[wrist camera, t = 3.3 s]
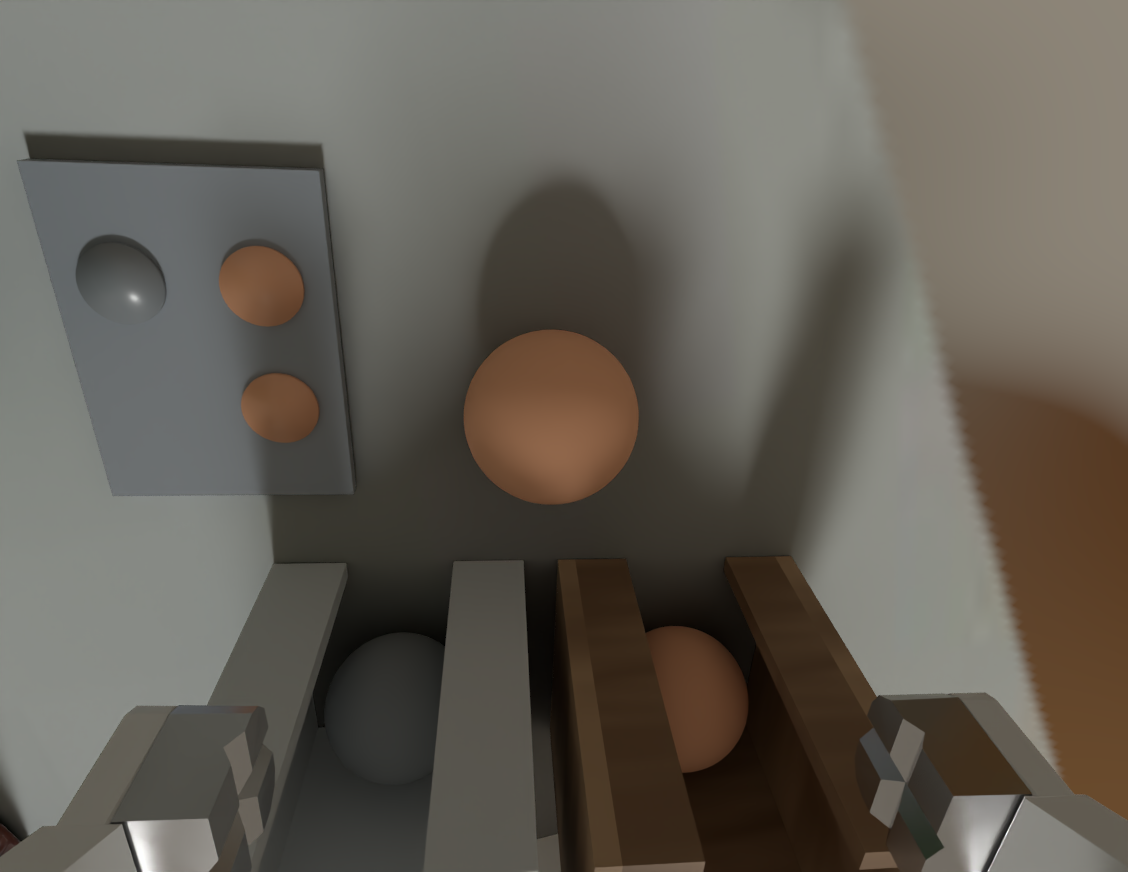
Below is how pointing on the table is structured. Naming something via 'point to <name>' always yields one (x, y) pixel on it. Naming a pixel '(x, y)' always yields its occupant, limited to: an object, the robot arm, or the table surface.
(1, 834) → the supplement bottle
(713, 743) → the tube ball terracotta
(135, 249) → the card
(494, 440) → the loose ball
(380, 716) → the tube ball charcoal
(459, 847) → the grey tube
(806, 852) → the walnut tube
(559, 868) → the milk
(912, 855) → the robot arm
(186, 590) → the table surface
